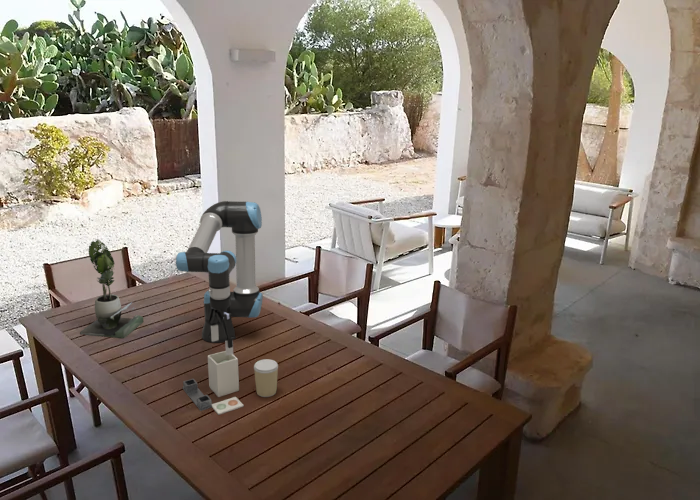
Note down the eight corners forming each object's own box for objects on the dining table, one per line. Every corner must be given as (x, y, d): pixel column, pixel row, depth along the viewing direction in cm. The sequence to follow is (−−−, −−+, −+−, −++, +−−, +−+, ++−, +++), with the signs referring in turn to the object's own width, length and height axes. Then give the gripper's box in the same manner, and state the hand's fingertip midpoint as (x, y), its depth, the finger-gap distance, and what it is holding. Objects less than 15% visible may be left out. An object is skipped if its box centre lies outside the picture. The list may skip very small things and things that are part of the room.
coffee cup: (282, 388, 228) (282, 361, 224) (271, 400, 220) (271, 372, 216) (261, 383, 231) (260, 357, 227) (250, 395, 222) (249, 367, 219)
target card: (235, 397, 220) (235, 396, 220) (243, 406, 215) (243, 404, 215) (211, 406, 215) (210, 404, 215) (218, 414, 209) (218, 413, 209)
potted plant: (143, 321, 283) (135, 234, 270) (123, 338, 265) (114, 246, 252) (102, 318, 286) (92, 231, 273) (80, 334, 268) (68, 242, 255)
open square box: (229, 380, 232) (228, 349, 228) (238, 390, 226) (237, 358, 221) (209, 387, 227) (207, 355, 223) (218, 397, 221) (216, 364, 216)
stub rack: (194, 384, 229) (193, 377, 228) (213, 406, 214) (212, 399, 213) (182, 388, 226) (181, 381, 225) (200, 411, 212) (200, 403, 211)
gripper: (197, 287, 222) (200, 337, 228) (224, 309, 203) (226, 363, 209) (216, 284, 226) (218, 332, 233) (243, 305, 207) (245, 357, 213)
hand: (222, 347), depth 221 cm, fingers open, 13 cm apart
